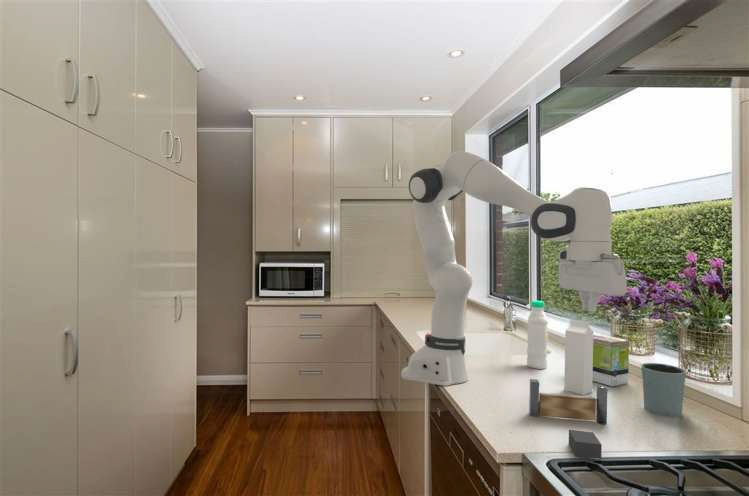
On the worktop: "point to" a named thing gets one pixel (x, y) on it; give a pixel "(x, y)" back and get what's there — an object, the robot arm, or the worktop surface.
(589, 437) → the block
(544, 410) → the gate
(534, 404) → the post
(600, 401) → the hinge post
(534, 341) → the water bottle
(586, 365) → the milk
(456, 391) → the worktop surface
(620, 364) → the tea box
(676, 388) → the grey green cup
